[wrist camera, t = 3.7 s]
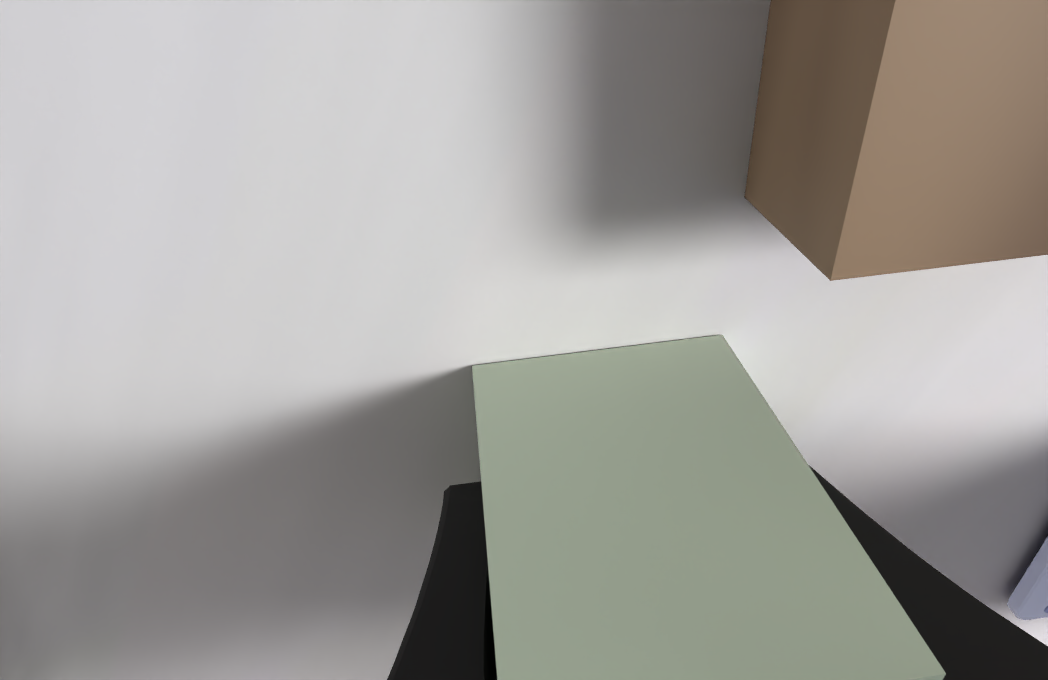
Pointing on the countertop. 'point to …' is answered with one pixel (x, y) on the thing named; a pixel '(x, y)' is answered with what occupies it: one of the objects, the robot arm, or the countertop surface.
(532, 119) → the countertop surface
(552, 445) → the sage block
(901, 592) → the robot arm
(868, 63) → the walnut block
